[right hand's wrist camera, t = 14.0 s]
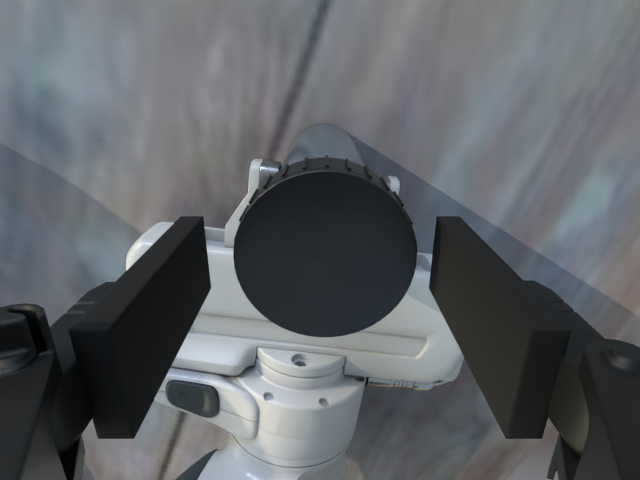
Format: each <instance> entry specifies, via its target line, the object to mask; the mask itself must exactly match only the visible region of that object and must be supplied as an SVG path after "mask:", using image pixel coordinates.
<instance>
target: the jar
mask: <svg viewBox="0 0 640 480" xmlns="http://www.w3.org/2000/svg"><path fill="white" fill-rule="evenodd" d="M325 155H328V157H330V158H339V159H344V160H345V159H346V158H348V159H349V161H352V162H354V163H357V164H359V165H362V166H363V167H364V166H365V165H366V164H365V162H364V160H363V158H362V156H361V154H360V152H359V150H358V148H357V145H356V143H355V142H354V140H353V139H352V137H351V136H350V135H349V134H348V133H347V132H346V131H344V130H343V129H341V128H339V127H337V126H334V125H330V124H317V125H313V126H310V127H308V128H306V129H304V130H303V131H302V132H300V133H299V134H298V135H297V136H296V137H295V139H294V140H293V142H292V144H291V146H290V148H289V150H288V153H287V155H286V157H285V160H284V162H283V164H282V166H281V169H283V168H284V167H285V165H286V164H288V165H291V164H293V163H296V162H299V161H302V160H304V158H306V157H308V159H312V158H323V157H325ZM281 169H280V170H281Z"/></svg>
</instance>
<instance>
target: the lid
mask: <svg viewBox="0 0 640 480" xmlns="http://www.w3.org/2000/svg"><path fill="white" fill-rule="evenodd" d="M248 203H249V204H250V205H247V206H246V208H245V210H244V212H243V213H242V215H241V217H240V219H239V221H240V224H239V227H238V229H237V232H236V235H235V237H234V251H233V259H234V268H235V272H236V275H237V279H238V281H239V284H240V286H241V289H242V290H243V292H244V294H245V295H246V297H247V299H248V300H249V301H250V302H251V304H252V305H253V306H254V307H255V308H256V309H257V310H258V311H259V312H260V313H261V314H262V315H263V316H264V317H266V318H267V319H268V320H269V321H271V322H273V323H274V324H276V325H278V326H280V327H282V328H284V329H286V330H288V331H291V332H294V333H297V334H301V335H306V336H311V337H338V336H345V335H349V334H353V333H356V332H359V331H362V330H364V329H366V328H368V327H370V326H372V325H374V324H376V323H377V322H379V321H380V320H382V319H383V318H384V317H386V316H387V315H388V314H389V313H391V312H392V311H393V309H394V308H395V307H396V306H397V305H398V304H399V303H400V301H401V300H402V299H403V297H404V296H405V294H406V292H407V290H408V289H409V287H410V285H411V282H412V279H413V277H414V273H415V268H416V262H417V244H416V239H415V234H414V231H413V228H412V224H413V223H412V221H411V219H410V217H409V216H408V214H407V212H406V211H405V209H404V207H403V206H404V205H403V203H402V201H401V200H400V198H399V196H398V195H397V193H396V192H395V191H393V192H392V190H391V189H390V188H389V186H388V184H387V183H386V181H385V179H384V178H383V177H382V176H381V177H379V176H377V175H376V174H375V173H373V172H372V171H371V170H369V168H368V166H366V165H365V166H364V167H363V166H362V165H359V164H357V163H354V162H352V161H349V159H348V158H346V159H345V160H344V159H339V158H330V157H328V155H325V157H323V158H312V159H308V157H306V158H304V160H302V161H299V162H296V163H293V164H291V165H288V164H286V165H285V167H284V168H283V169H281V170H280V171H278V172H276V173H275V174H274V175H273V176H272V175H271V174H270V175H269V176H268V178H267V180H266V182H265V183H264V184H263V185H262V186H261V187H260V189H256V190H255V192H254V194H253V195H252V197H251V199H250V201H249V202H248ZM402 207H403V208H402Z"/></svg>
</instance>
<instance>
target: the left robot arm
mask: <svg viewBox="0 0 640 480" xmlns="http://www.w3.org/2000/svg"><path fill="white" fill-rule="evenodd" d="M280 169H281V162H276V161H269V160H263V159H254V160H253V161H252V162H251V167H250V174H249V189H248V194H247V195H246V196H245V198H244V199H243V201H242V202H241V203H240V205H239V206H238V208H237V209H236V210H235V212H234V213H233V215H232V216H231V218H230V219H229V221H228V223H227V224H226V226H225V229H220V228H212V227H204V228H205V237H206V246H207V255H208V264H209V272H210V281H211V290H210V292H209V294H208V295H207V297H206V299H205V301H204V303H203V305H202V307H201V309H200V311H199V313H198V315H197V317H196V319H195V321H194V323H193V325H192V327H191V329H190V331H189V332H188V334H187V336H186V338H185V340H184V342H183V344H182V346H181V348H180V350H179V352H178V354H177V356H176V358H175V360H174V362H173V364H172V366H171V367H170V369H169V371H168V373H167V375H166V377H165V379H164V381H163V383H162V385H161V387H160V389H159V391H158V393H157V395H156V397H155V399H154V400H156V401H157V402H159V403H161V404H164V405H167V406H170V407H173V408H175V409H178V410H181V411H184V412H187V413H189V414H192V415H194V416H197V417H199V418H202V419H204V420H206V421H209V422H211V423H213V424H215V425H217V426H219V427H221V428H223V429H225V430H226V431H228V432H229V437H228V440H227V442H226V444H225V446H224V448H223V449H221V450H218V449H215V450H213V451H211V452H210V453H208V454H206V455H205V456H204V457H202V458H201V459H199V460H198V461H197V462H196V463H194V464H193V465H192V466H191V467H190V468H188V469H187V470H186V471H185V472H183V473H182V474H181V475H180V476H179V477H178V478H177V479H176V480H344V479H345V474H346V450H347V449H348V447H349V445H350V443H351V441H352V438H353V436H354V433H355V428H356V423H357V419H358V414H359V410H360V405H361V401H362V396H363V391H364V387H365V386H366V385H367V386H376V387H385V388H410V389H412V390H415V391H431V390H432V389H433V386H439V385H443V384H445V383H447V382H450V381H453V380H455V379H456V377H457V376H458V374H459V372H460V369H461V366H462V363H463V360H464V356H463V354H462V352H461V350H460V348H459V346H458V344H457V342H456V340H455V338H454V336H453V334H452V332H451V331H450V329H449V327H448V325H447V323H446V321H445V319H444V317H443V315H442V313H441V311H440V309H439V307H438V305H437V303H436V301H435V299H434V297H433V295H432V294H431V292H430V290H429V281H430V272H431V263H432V255H433V254H427V253H419V252H417V262H416V268H415V273H414V277H413V279H412V282H411V285H410V287H409V289H408V290H407V292H406V294H405V296H404V297H403V299H402V300H401V301H400V303H399V304H398V305H397V306H396V307H395V308H394V309H393V311H392V312H391V313H389V314H388V315H387V316H386V317H384V318H383V319H382V320H380V321H379V322H377V323H376V324H374V325H372V326H370V327H368V328H366V329H364V330H362V331H359V332H356V333H353V334H349V335H345V336H338V337H311V336H306V335H301V334H297V333H294V332H291V331H288V330H286V329H284V328H282V327H280V326H278V325H276V324H274V323H273V322H271V321H269V320H268V319H267V318H266V317H264V316H263V315H262V314H261V313H260V312H259V311H258V310H257V309H256V308H255V307H254V306H253V305H252V304H251V302H250V301H249V300H248V299H247V297H246V295H245V294H244V292H243V290H242V289H241V286H240V284H239V281H238V279H237V275H236V272H235V268H234V259H233V251H234V237H235V235H236V232H237V229H238V227H239V224H240V221H239V219H240V217H241V215H242V213H243V212H244V210H245V208H246V206H247V205H250V204H249V203H248V202H249V201H250V199H251V197H252V195H253V194H254V192H255V190H256V189H260V187H261V186H262V185H263V184H264V183H265V182H266V180H267V178H268V176H269V175H270V174H271V175H272V176H273V175H274V174H275V173H276V172H278V171H280ZM376 175H377V176H379V177H381V176H382V177H383V178H384V179H385V181H386V183H387V184H388V186H389V188H390V189H391V190H392V192H393V191H395V192H396V193H397V195H399V190H400V181H399V180H398V178H397V177H394V176H387V175H378V174H376ZM173 224H174V223H171V222H159V223H157V224H155V225H154V226H153V227H152V228H150V229H149V230H148V231H146V232H145V233H144V234H143V235H142V236H141V237H140V238H139V239H138V240H137V241H136V242H135V243H134V244H133V245H132V247H131V248H130V250H129V252H128V254H127V258H126V271H127V270H128V269H129V268H130V267H131V266H132V265H133V264H134V263H135V262H136V261H137V260H138V259H139V258H140V257H141V256H142V255H143V254H144V253H145V252H146V251H147V250H148V249H149V248H150V247H151V246H152V245H153V244H154V243H155V242H156V241H157V240H158V239H159V238H160V237H161V236H162V235H163V234H164V233H165V232H166V231H167V230H168V229H169V228H170V227H171V226H172V225H173Z"/></svg>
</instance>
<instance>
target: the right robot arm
mask: <svg viewBox="0 0 640 480" xmlns="http://www.w3.org/2000/svg"><path fill="white" fill-rule="evenodd" d="M210 290H211V281H210V272H209V264H208V255H207V246H206V237H205V228H204V220H203V217H180V218H179V219H178V220H177V221H176V222H175V223H174V224H173V225H172V226H171V227H170V228H169V229H168V230H167V231H166V232H165V233H164V234H163V235H162V236H161V237H160V238H159V239H158V240H157V241H156V242H155V243H154V244H153V245H152V246H151V247H150V248H149V249H148V250H147V251H146V252H145V253H144V254H143V255H142V256H141V257H140V258H139V259H138V260H137V261H136V262H135V263H134V264H133V265H132V266H131V267H130V268H129V269H128V270H127V271H126V272H125V273H124V274H123V275H122V276H121V277H120V278H119V279H118V280H117V281H116V282H105V283H104V284H102V285H100V286H98V287H96V288H94V289H92V290H90V291H89V292H87V293H86V294H85V295H84V296H83V297H82V298H81V299H80V300H79V301H78V302H77V305H73V306H72V307H71V308H70V309H69V310H68V311H67V314H64V315H63V316H62V317H60V318H59V319H58V320H57V321H56V322H55V323H54V324H53V325H52V326H51V327H50V328H49V324H48V321H47V317H46V314H45V311H44V308H42V307H40V306H39V305H34V304H16V305H9V306H5V307H1V308H0V480H81V479H82V471H83V463H84V456H85V448H84V443H83V439H82V436H81V434H82V433H83V431H84V430H85V428H86V427H87V425H88V424H89V422H90V421H91V419H92V418H93V422H94V426H95V429H96V433H97V436H98V439H134V437H135V436H136V434H137V432H138V430H139V428H140V426H141V424H142V422H143V420H144V418H145V416H146V414H147V412H148V410H149V408H150V406H151V404H152V402H153V401H154V399H155V397H156V395H157V393H158V391H159V389H160V387H161V385H162V383H163V381H164V379H165V377H166V375H167V373H168V371H169V369H170V367H171V366H172V364H173V362H174V360H175V358H176V356H177V354H178V352H179V350H180V348H181V346H182V344H183V342H184V340H185V338H186V336H187V334H188V332H189V331H190V329H191V327H192V325H193V323H194V321H195V319H196V317H197V315H198V313H199V311H200V309H201V307H202V305H203V303H204V301H205V299H206V297H207V295H208V294H209V292H210ZM429 290H430V292H431V294H432V295H433V297H434V299H435V301H436V303H437V305H438V307H439V309H440V311H441V313H442V315H443V317H444V319H445V321H446V323H447V325H448V327H449V329H450V331H451V332H452V334H453V336H454V338H455V340H456V342H457V344H458V346H459V348H460V350H461V352H462V354H463V356H464V358H465V360H466V362H467V364H468V366H469V367H470V369H471V371H472V373H473V375H474V377H475V379H476V381H477V383H478V385H479V387H480V389H481V391H482V393H483V395H484V397H485V399H486V401H487V402H488V404H489V406H490V408H491V410H492V412H493V414H494V416H495V418H496V420H497V422H498V424H499V426H500V428H501V430H502V432H503V434H504V436H505V437H506V439H542V436H543V433H544V429H545V426H546V422H547V418H548V417H549V418H550V420H551V421H552V423H553V424H554V426H555V427H556V429H557V430H558V432H559V436H558V439H557V443H556V446H555V450H554V453H553V456H552V460H551V463H550V467H549V470H548V476H547V478H549V479H552V480H553V479H554V476H555V472H556V471H557V470H558V477H559V480H640V347H637V346H635V345H633V344H629V343H626V342H622V341H619V340H612V339H604V338H603V337H602V336H601V335H600V334H599V333H598V332H597V331H596V330H595V329H594V328H592V327H591V326H590V325H589V324H588V323H587V322H586V321H585V320H584V319H583V318H582V317H581V316H579V315H578V314H577V313H576V312H574V310H573V309H572V308H571V307H570V306H569V305H567V304H566V303H564V301H563V300H562V299H561V298H560V297H559V296H558V295H557V294H556V293H554V292H553V291H552V290H551V289H549V288H547V287H545V286H543V285H541V284H539V283H537V282H536V281H523V280H522V279H521V278H520V277H519V276H518V275H517V274H516V273H515V272H514V271H513V270H512V269H511V268H510V267H509V266H508V265H507V264H506V263H505V262H504V261H503V260H502V259H501V258H500V257H499V256H498V255H497V254H496V253H495V252H494V251H493V250H492V249H491V248H490V247H489V246H488V245H487V244H486V243H485V242H484V241H483V240H482V239H481V238H480V237H479V236H478V235H477V234H476V233H475V232H474V231H473V230H472V229H471V228H470V227H469V226H468V225H467V224H466V223H465V222H464V221H463V220H462V219H461V218H460V217H437V220H436V228H435V237H434V246H433V255H432V263H431V272H430V281H429Z"/></svg>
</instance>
